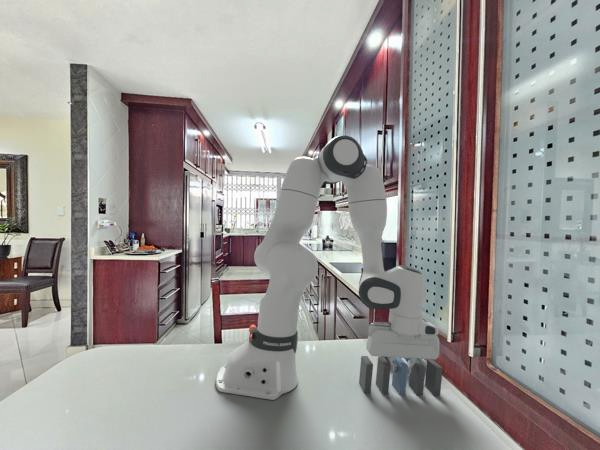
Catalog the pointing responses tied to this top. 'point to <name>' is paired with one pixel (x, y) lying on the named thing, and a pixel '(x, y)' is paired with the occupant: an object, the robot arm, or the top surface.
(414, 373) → the domino
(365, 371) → the domino
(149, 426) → the top surface
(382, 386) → the domino
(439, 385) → the domino
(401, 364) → the domino
